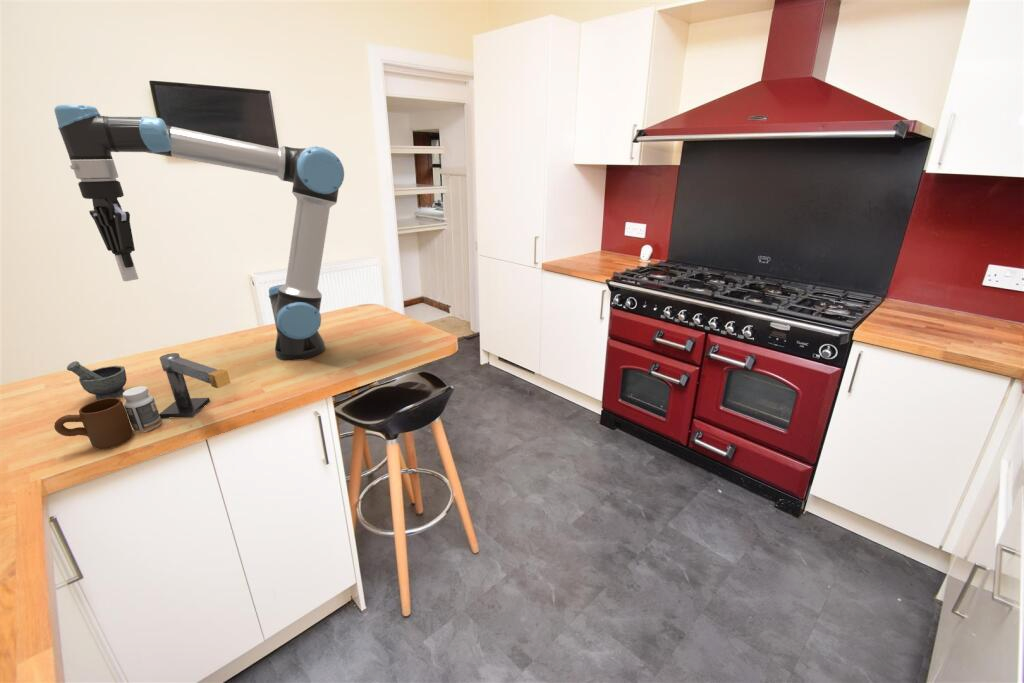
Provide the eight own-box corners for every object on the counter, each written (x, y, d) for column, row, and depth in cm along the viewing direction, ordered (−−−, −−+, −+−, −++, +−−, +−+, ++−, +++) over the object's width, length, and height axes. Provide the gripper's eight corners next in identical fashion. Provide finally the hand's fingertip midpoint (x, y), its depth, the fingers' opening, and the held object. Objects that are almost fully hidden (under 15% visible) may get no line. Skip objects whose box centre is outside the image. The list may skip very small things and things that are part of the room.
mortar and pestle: (124, 384, 134) (110, 346, 130) (139, 392, 129) (125, 353, 125) (75, 401, 125) (58, 360, 121) (88, 410, 121) (71, 368, 116)
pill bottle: (164, 418, 116) (152, 383, 113) (158, 430, 111) (146, 393, 108) (137, 423, 114) (124, 387, 111) (130, 435, 109) (116, 398, 106)
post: (210, 401, 124) (199, 362, 120) (193, 417, 117) (180, 375, 112) (179, 402, 124) (166, 363, 119) (160, 418, 116) (146, 376, 112)
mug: (67, 463, 99) (50, 425, 96) (66, 448, 105) (50, 412, 101) (136, 441, 107) (123, 405, 104) (132, 428, 112) (119, 393, 109)
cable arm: (159, 369, 115) (156, 357, 114) (177, 363, 118) (173, 352, 117) (215, 389, 105) (212, 376, 104) (232, 382, 108) (229, 369, 107)
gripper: (64, 180, 107) (99, 280, 116) (93, 181, 101) (128, 286, 110) (102, 179, 113) (133, 274, 122) (132, 179, 108) (161, 279, 116)
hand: (130, 279), depth 116 cm, fingers closed
